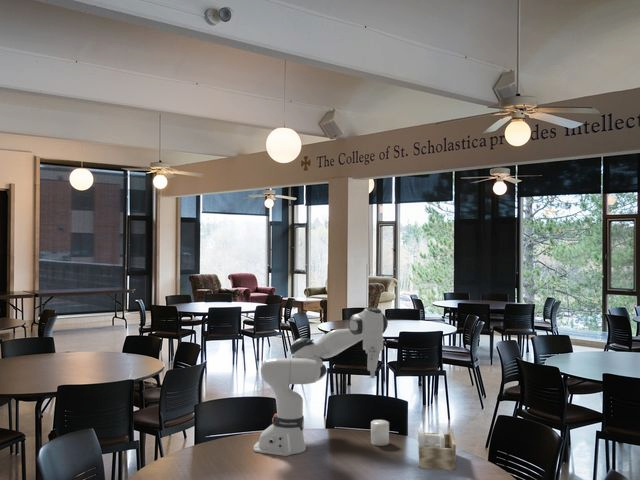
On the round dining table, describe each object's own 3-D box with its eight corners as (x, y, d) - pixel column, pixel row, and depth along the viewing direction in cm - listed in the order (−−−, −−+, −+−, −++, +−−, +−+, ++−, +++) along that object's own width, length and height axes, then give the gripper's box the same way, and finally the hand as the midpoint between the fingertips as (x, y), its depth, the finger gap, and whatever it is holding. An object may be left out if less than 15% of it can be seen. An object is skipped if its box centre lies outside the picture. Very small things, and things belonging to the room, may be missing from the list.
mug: (372, 445, 268) (372, 425, 268) (368, 437, 279) (369, 417, 279) (390, 445, 268) (390, 425, 268) (386, 437, 279) (386, 417, 279)
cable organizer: (444, 467, 243) (445, 438, 243) (418, 465, 244) (418, 436, 244) (442, 454, 258) (443, 427, 258) (417, 453, 259) (417, 425, 259)
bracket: (419, 467, 242) (419, 442, 242) (418, 450, 262) (418, 427, 262) (455, 470, 240) (455, 444, 240) (452, 452, 260) (452, 429, 260)
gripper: (379, 349, 253) (379, 383, 253) (381, 342, 273) (380, 372, 273) (364, 349, 254) (363, 382, 253) (366, 341, 274) (366, 372, 274)
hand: (372, 377), depth 263 cm, fingers closed
